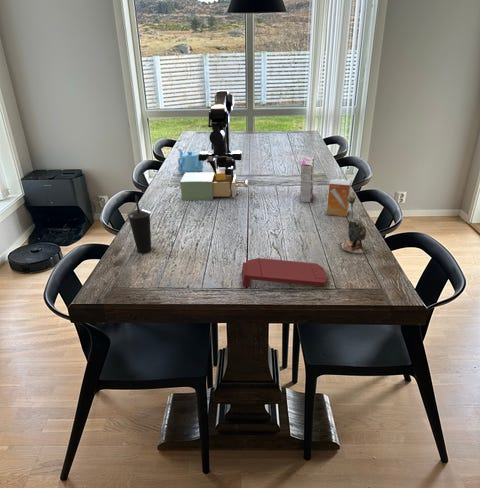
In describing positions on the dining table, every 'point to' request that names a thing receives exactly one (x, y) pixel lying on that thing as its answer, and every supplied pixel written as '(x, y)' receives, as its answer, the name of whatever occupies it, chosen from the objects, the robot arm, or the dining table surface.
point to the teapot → (189, 162)
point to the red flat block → (283, 272)
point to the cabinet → (197, 186)
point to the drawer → (226, 186)
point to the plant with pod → (355, 232)
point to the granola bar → (220, 174)
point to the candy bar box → (307, 179)
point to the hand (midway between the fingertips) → (221, 175)
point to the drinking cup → (141, 228)
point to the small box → (338, 197)
